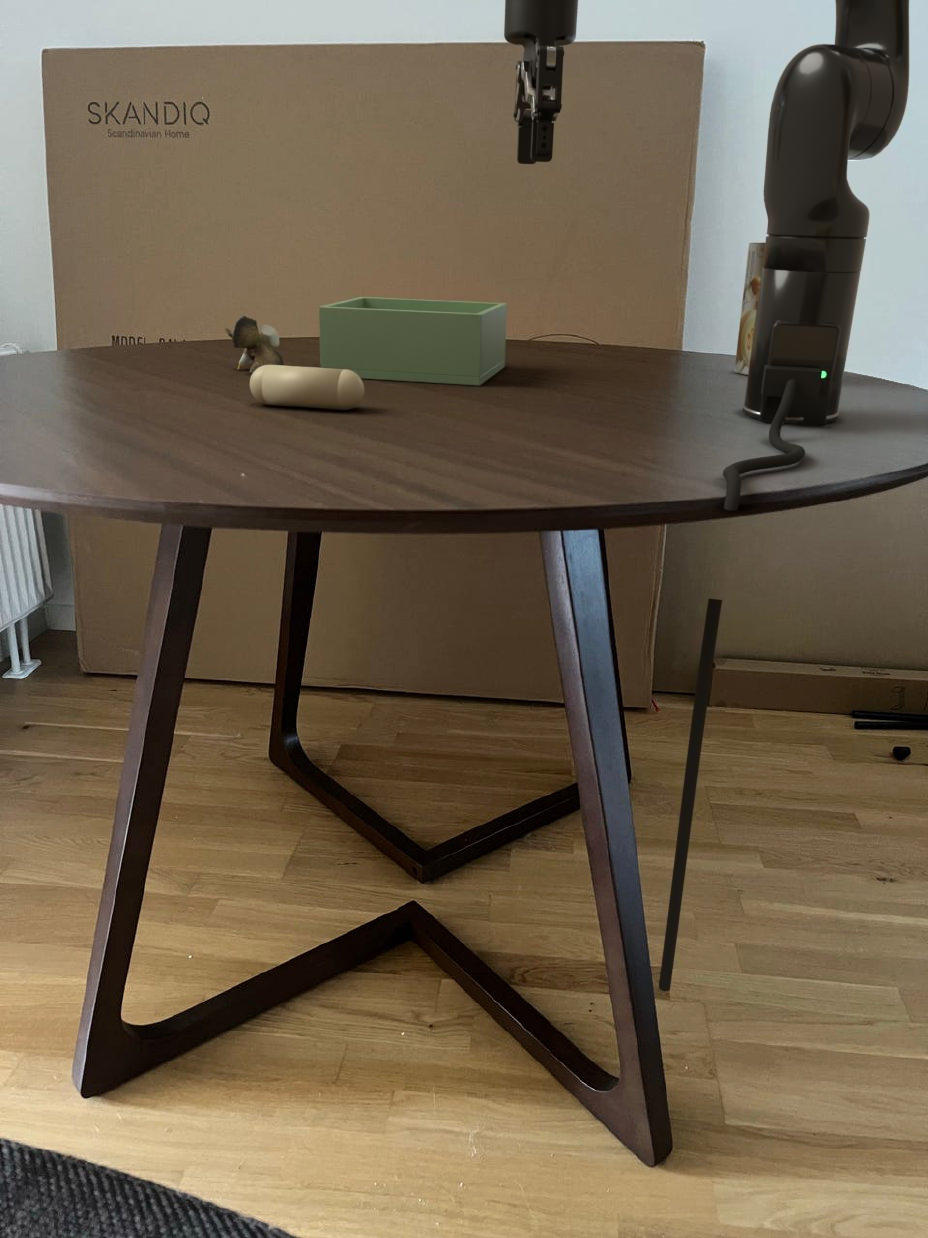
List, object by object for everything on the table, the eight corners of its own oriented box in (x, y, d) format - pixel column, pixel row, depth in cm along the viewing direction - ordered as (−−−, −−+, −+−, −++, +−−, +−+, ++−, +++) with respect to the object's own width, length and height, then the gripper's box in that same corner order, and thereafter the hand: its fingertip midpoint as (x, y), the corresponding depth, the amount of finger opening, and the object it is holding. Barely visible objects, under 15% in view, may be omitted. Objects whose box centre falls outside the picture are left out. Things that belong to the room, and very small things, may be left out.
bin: (479, 385, 116) (481, 314, 113) (320, 376, 119) (318, 306, 116) (504, 367, 130) (507, 303, 127) (361, 359, 134) (360, 296, 130)
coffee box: (818, 380, 125) (839, 244, 119) (778, 383, 122) (798, 244, 116) (769, 370, 133) (786, 241, 126) (730, 372, 130) (746, 241, 124)
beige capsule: (357, 414, 98) (356, 373, 96) (244, 406, 100) (241, 366, 99) (369, 407, 102) (369, 367, 100) (260, 400, 104) (258, 361, 102)
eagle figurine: (209, 356, 124) (218, 352, 116) (236, 306, 125) (247, 298, 116) (263, 388, 128) (275, 386, 119) (289, 339, 128) (304, 334, 119)
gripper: (495, 0, 108) (490, 163, 114) (517, -27, 95) (510, 159, 101) (563, 3, 109) (554, 165, 115) (594, -23, 96) (582, 161, 102)
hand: (533, 162), depth 108 cm, fingers open, 8 cm apart
